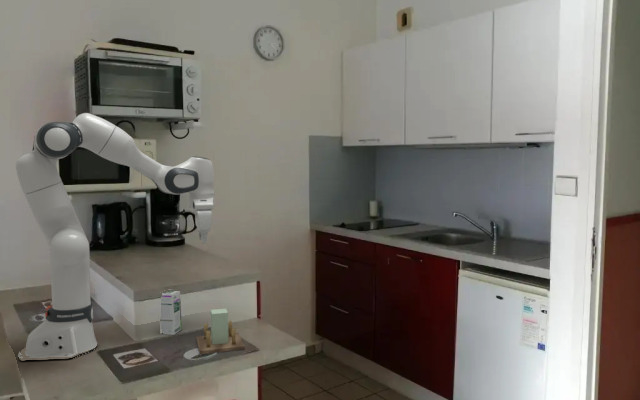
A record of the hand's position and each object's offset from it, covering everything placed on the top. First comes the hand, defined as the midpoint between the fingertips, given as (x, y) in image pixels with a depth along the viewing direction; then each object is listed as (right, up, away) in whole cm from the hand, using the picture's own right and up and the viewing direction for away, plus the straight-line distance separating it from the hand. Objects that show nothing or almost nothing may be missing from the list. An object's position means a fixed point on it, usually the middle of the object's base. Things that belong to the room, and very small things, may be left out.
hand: (203, 241), depth 189 cm
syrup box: (-11, -32, -3) cm, 34 cm away
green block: (+9, -31, -16) cm, 36 cm away
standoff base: (+9, -32, -16) cm, 37 cm away
